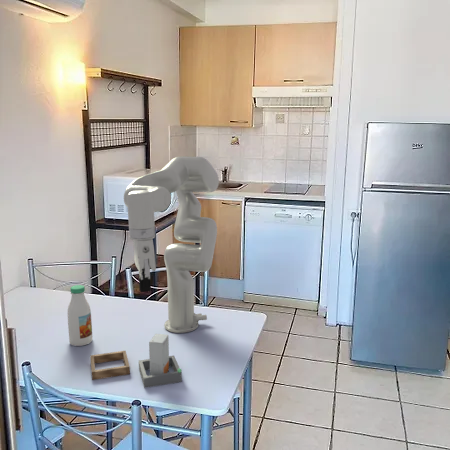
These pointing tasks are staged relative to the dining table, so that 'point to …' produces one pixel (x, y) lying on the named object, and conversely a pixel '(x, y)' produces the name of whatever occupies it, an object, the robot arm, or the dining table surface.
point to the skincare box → (159, 354)
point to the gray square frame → (160, 378)
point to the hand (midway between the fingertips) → (145, 290)
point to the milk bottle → (79, 317)
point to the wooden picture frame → (109, 371)
